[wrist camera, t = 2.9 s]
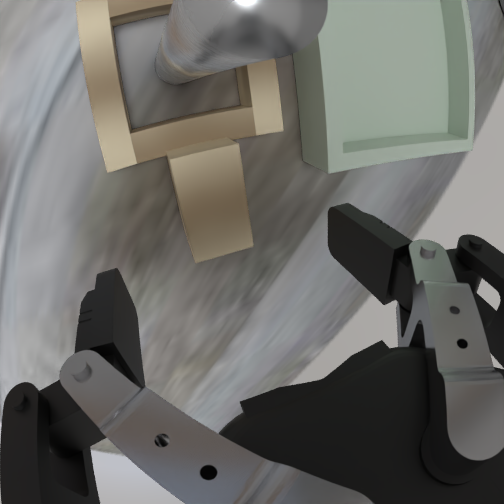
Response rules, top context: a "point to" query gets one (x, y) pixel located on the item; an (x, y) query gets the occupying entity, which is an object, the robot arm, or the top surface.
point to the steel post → (233, 34)
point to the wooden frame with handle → (180, 131)
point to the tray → (386, 83)
